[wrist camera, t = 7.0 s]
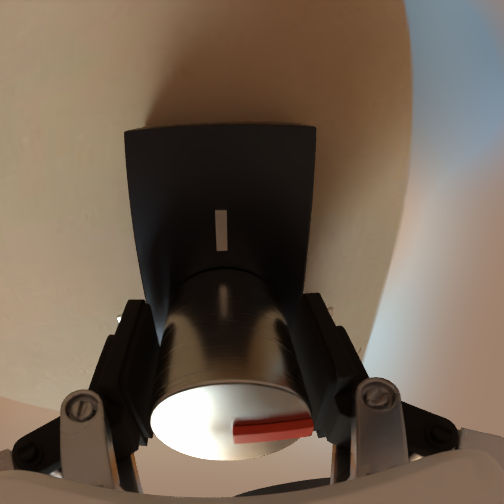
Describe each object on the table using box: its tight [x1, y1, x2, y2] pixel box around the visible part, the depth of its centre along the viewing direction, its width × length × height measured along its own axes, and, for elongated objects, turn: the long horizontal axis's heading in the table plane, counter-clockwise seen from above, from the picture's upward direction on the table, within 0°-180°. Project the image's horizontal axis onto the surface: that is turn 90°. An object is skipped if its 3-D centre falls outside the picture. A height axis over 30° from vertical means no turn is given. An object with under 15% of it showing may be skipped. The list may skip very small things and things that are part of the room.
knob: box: [148, 269, 314, 461], centre depth 9 cm, size 4×4×5 cm
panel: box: [117, 122, 334, 345], centre depth 12 cm, size 14×9×3 cm, turn 179°
